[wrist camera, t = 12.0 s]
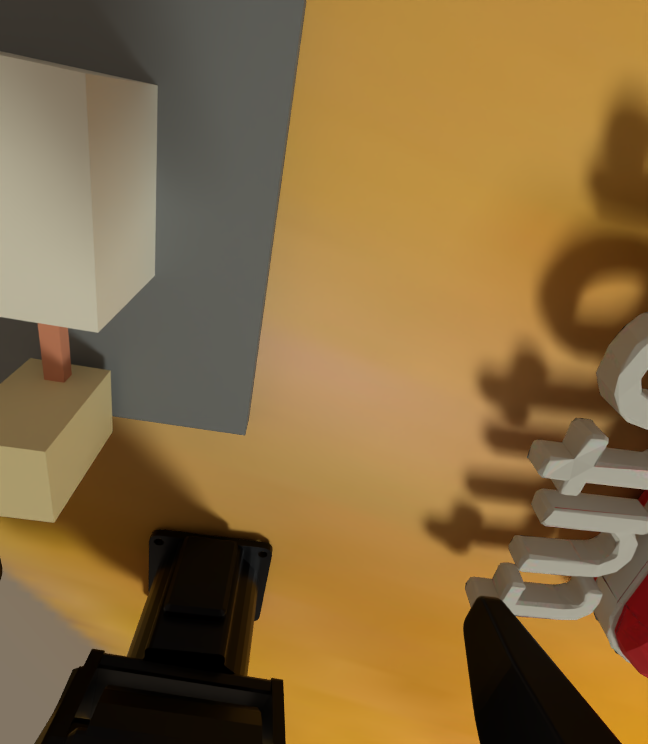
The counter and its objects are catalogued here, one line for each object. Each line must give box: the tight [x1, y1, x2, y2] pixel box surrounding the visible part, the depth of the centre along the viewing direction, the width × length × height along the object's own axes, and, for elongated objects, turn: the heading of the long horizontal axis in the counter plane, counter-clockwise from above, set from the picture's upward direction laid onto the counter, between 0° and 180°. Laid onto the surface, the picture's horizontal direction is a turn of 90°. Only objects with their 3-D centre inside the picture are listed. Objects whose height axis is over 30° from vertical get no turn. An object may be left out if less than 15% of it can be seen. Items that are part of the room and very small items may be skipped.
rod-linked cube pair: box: [0, 51, 158, 523], centre depth 14 cm, size 13×6×6 cm, turn 169°
